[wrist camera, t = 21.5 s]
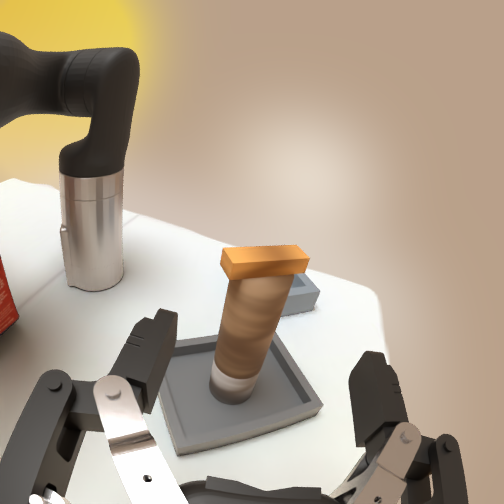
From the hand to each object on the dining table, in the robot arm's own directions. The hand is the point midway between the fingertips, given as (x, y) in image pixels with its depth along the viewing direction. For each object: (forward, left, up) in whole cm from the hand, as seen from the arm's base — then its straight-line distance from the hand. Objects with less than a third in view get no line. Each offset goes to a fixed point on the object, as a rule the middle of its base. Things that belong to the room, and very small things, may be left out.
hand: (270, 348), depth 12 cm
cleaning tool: (+5, +10, -19) cm, 22 cm away
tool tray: (+5, +10, -20) cm, 23 cm away
